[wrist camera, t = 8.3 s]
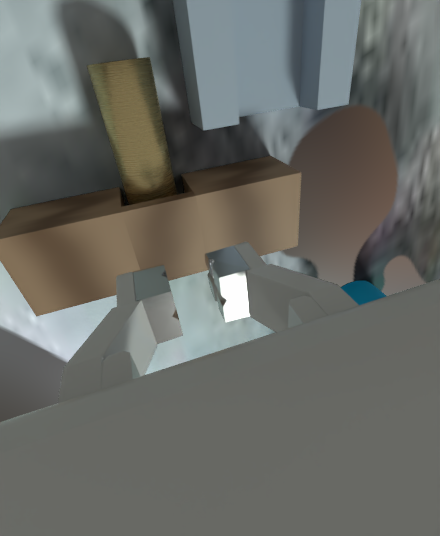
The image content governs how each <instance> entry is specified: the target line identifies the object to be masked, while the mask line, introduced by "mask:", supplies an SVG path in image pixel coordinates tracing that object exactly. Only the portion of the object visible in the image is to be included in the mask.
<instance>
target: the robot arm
mask: <svg viewBox="0 0 440 536" xmlns="http://www.w3.org/2000/svg"><path fill="white" fill-rule="evenodd" d="M205 263H206V266H207V268H208V270H209V273H208V280H209V285H210V288H211V292H212V294H213V297H214V299H215V301H217V302H218V306H219V310H220V312H221V314H222V316H223V319H224V321H225V322H228V321H232V320H236V319H239V318H243V317H246V316H250V317H251V318H253V319H255V320H256V321H258V322H260V323H261V324H263V325H265V326H266V327H268V328H270V329H271V330H273V331H275V332H276V333H273V334H269V335H266V336H263V337H260V338H257V339H254V340H251V341H248V342H245V343H242V344H239V345H236V346H233V347H230V348H227V349H224V350H221V351H218V352H215V353H212V354H208V355H205V356H202V357H199V358H196V359H193V360H190V361H187V362H184V363H181V364H178V365H175V366H172V367H169V368H166V369H162V370H159V371H156V372H153V373H150V374H147V375H145V373H146V371H147V368H148V366H149V364H150V361H151V359H152V357H153V355H154V352H155V350H156V348H157V344H159V343H162V342H165V341H168V340H171V339H174V338H177V337H180V336H183V333H182V330H181V326H180V322H179V318H178V314H177V311H176V307H175V303H174V300H173V296H172V292H171V289H170V285H169V281H168V278H167V274H166V271H165V267H164V264H162V265H157V266H153V267H149V268H145V269H141V270H137V271H133V272H128V273H125V274H121V275H117V277H116V289H117V307H115V308H112V309H111V311H110V312H109V313H108V314H107V315H106V317H105V318H104V319H103V320H102V322H101V323H100V324H99V325H98V326H97V328H96V329H95V330H94V331H93V333H92V334H91V335H90V336H89V337H88V339H87V340H86V341H85V342H84V343H83V345H82V346H81V347H80V348H79V350H78V351H77V352H76V353H75V354H74V356H73V357H72V358H71V359H70V360H69V362H68V363H67V364H66V365H65V367H64V368H63V373H62V379H61V385H60V392H59V398H58V404H55V405H52V406H49V407H46V408H43V409H40V410H37V411H34V412H30V413H27V414H24V415H21V416H18V417H15V418H12V419H9V420H6V421H3V422H0V536H440V279H438V280H435V281H432V282H429V283H426V284H423V285H420V286H417V287H414V288H410V289H407V290H404V291H402V292H398V293H395V294H392V295H389V296H386V297H383V298H380V299H377V300H374V301H371V302H368V303H365V304H362V305H358V304H357V303H356V302H355V301H354V300H353V299H352V298H351V297H350V296H349V295H348V294H347V293H346V292H345V291H344V290H342V289H341V288H340V287H339V286H338V285H337V284H334V283H331V282H328V281H324V280H321V279H318V278H315V277H312V276H308V275H305V274H302V273H299V272H295V271H292V270H289V269H286V268H283V267H279V266H276V265H273V264H268V265H267V264H266V263H265V262H264V261H263V260H262V258H261V257H260V256H259V255H258V254H257V252H256V251H255V250H254V249H253V247H252V246H251V245H250V244H249V243H248V242H243V243H240V244H236V245H233V246H230V247H226V248H223V249H219V250H216V251H212V252H209V253H206V254H205Z"/></svg>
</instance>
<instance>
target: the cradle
mask: <svg viewBox="0 0 440 536" xmlns="http://www.w3.org/2000/svg"><path fill="white" fill-rule="evenodd" d="M173 6H174V12H175V19H176V26H177V32H178V39H179V45H180V52H181V59H182V65H183V72H184V78H185V85H186V92H187V98H188V105H189V111H190V118H191V123H193V124H194V125H196V126H197V127H199V128H200V129H202V130H203V131H204V130H210V129H215V128H221V127H226V126H232V125H237V124H239V117H242V116H248V115H253V114H259V113H265V112H270V111H276V110H282V109H287V108H293V107H298V106H300V107H305V108H310V109H315V110H320V109H325V108H331V107H336V106H342V105H347V104H348V103H349V95H350V87H351V79H352V71H353V63H354V55H355V46H356V38H357V30H358V22H359V14H360V6H361V0H173Z"/></svg>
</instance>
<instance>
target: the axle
mask: <svg viewBox="0 0 440 536" xmlns="http://www.w3.org/2000/svg"><path fill="white" fill-rule="evenodd" d="M87 68H88V71H89V74H90V78H91V81H92V84H93V88H94V91H95V94H96V98H97V101H98V104H99V107H100V111H101V114H102V117H103V121H104V124H105V127H106V131H107V134H108V137H109V140H110V144H111V147H112V150H113V154H114V157H115V160H116V164H117V167H118V170H119V173H120V177H121V180H122V183H123V187H124V190H125V193H126V197H127V200H128V203H129V205H132V204H137V203H141V202H146V201H151V200H155V199H160V198H164V197H169V196H173V195H177V191H176V186H175V181H174V176H173V171H172V166H171V161H170V156H169V151H168V146H167V141H166V136H165V131H164V126H163V121H162V116H161V111H160V106H159V101H158V96H157V91H156V86H155V81H154V76H153V71H152V66H151V61H150V57H147V58H138V59H130V60H122V61H114V62H106V63H99V64H92V65H87Z"/></svg>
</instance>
